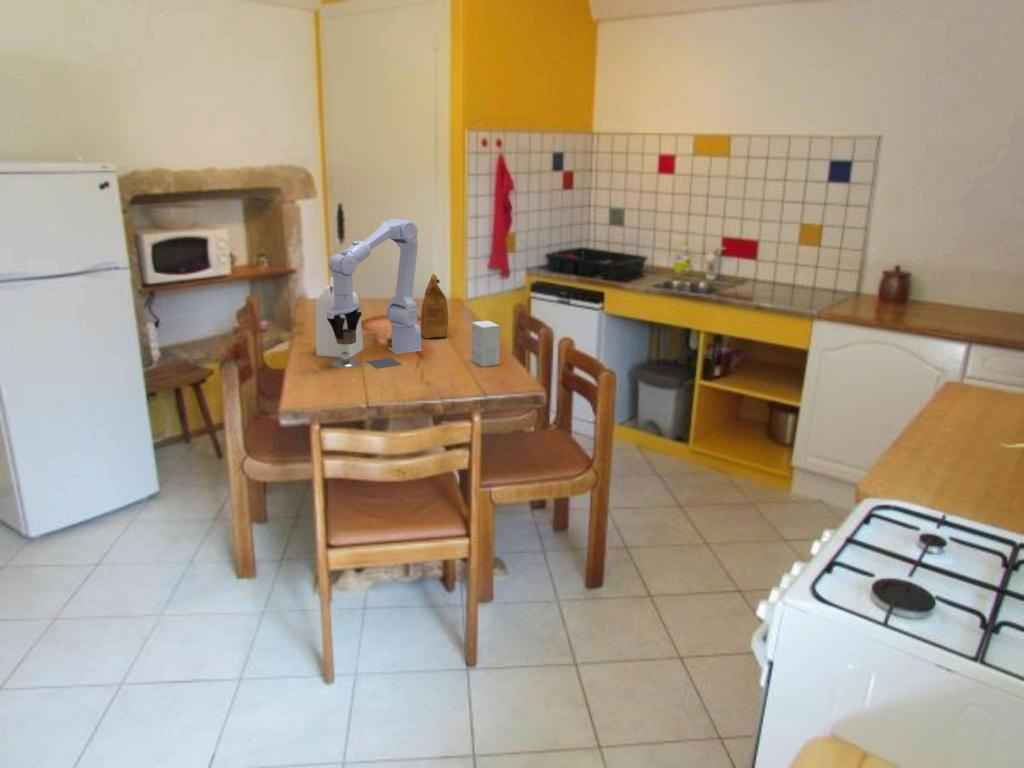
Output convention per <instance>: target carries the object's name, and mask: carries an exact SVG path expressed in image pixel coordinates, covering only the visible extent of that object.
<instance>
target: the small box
mask: <svg viewBox="0 0 1024 768" xmlns="http://www.w3.org/2000/svg"><path fill="white" fill-rule="evenodd" d="M500 333H501V325H499V324H496V323H495V322H493V321H491V320H481V321H472V322H471V361H472V362H474V363H476V364H477V365H479V366H481V367H490V366H496V365H497V366H498V365H500V360H501V358H500V356H501V355H500V354H501V353H500V347H501V345H500V341H501V335H500Z"/></svg>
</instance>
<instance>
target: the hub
mask: <svg viewBox="0 0 1024 768" xmlns="http://www.w3.org/2000/svg"><path fill="white" fill-rule="evenodd" d="M360 364H361V361H360V360H359V359H356V358H349V353H348V352H342V353H341V357H340V358H338V359H334V360H332V361H331V362H330V365H331V366H332V367H333V368H338V369H351V368H355V367H357V366H360Z"/></svg>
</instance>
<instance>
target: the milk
mask: <svg viewBox="0 0 1024 768" xmlns="http://www.w3.org/2000/svg"><path fill="white" fill-rule="evenodd" d="M353 304H360V300H359V297H358V295H357V293H355V291H353ZM334 306H335V303H334V283H333V277H330V280H329V285H328V286H326V288H324V290H323V292H322V294H321V295H320V296H318V297H317V299H316V300H315V336H316V337H315V339H316V342H315V343H316V347H315V348H316V351H315V352H316V356H319V357H321V356H323V357H333V358H335V357H336V358H341V353H342V352H348V353H349V359H351V357H353V356H354V355H356V354H357V353H359V352H360V351H362V350H363V349H364V343H363V341H364V339H363V330H362V320H361V317H360V319H359V321H358V324H357V328H356V343H353V344H346V345H343V344H337V341H336V337H335V334H334V331H333V329H332V326H331V324H330V323H329V321H328V320H327V312H328V311H330V310H332V307H334ZM358 312H361V310H358ZM340 317H341V318H345V315H340ZM343 329H348V328H347V321H346V318H345V322H344V325H343Z"/></svg>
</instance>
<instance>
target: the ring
mask: <svg viewBox="0 0 1024 768" xmlns="http://www.w3.org/2000/svg"><path fill="white" fill-rule="evenodd" d="M336 341H337V344H343V345H346V344H353V343H356V331H355V330H353V329H343V338H342V339H341V340H340V339H336Z"/></svg>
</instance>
